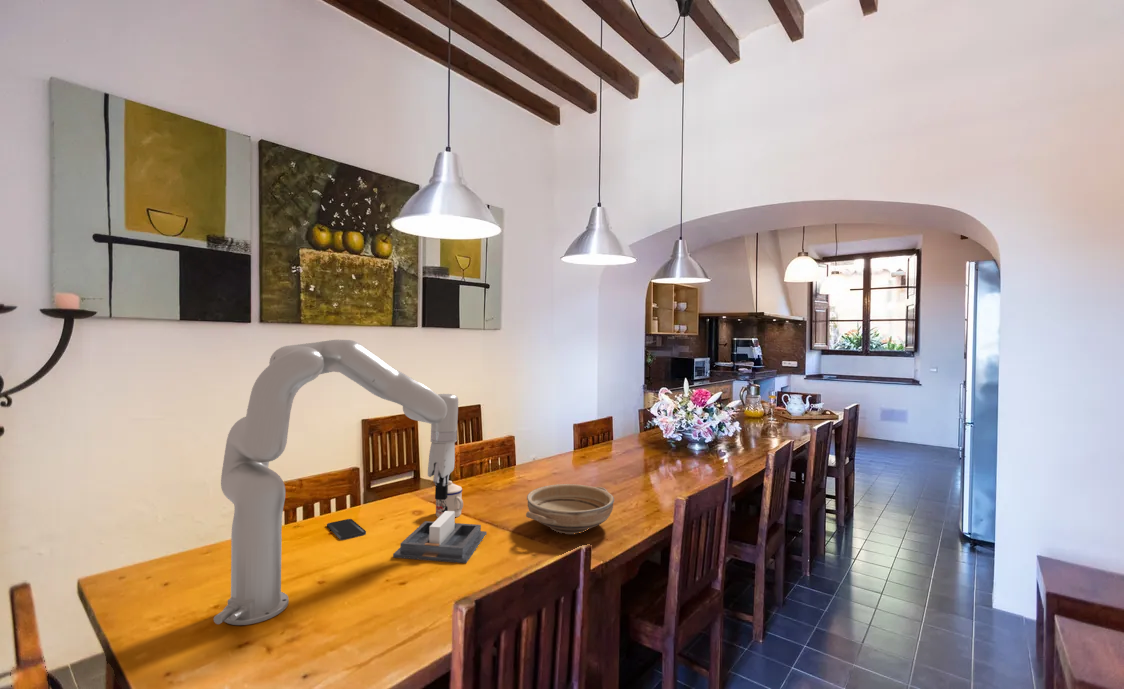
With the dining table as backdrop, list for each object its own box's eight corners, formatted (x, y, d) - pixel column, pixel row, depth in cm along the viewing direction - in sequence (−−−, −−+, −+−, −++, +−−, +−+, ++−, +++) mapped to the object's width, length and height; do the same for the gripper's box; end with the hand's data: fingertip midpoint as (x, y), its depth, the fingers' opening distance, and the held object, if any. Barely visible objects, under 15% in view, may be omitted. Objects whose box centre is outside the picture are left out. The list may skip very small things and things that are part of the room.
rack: (466, 563, 136) (466, 549, 136) (393, 557, 139) (393, 543, 139) (486, 534, 156) (486, 522, 156) (422, 530, 159) (422, 518, 158)
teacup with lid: (429, 514, 172) (430, 481, 172) (451, 508, 179) (451, 476, 179) (450, 523, 164) (451, 488, 164) (472, 516, 171) (473, 482, 171)
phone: (350, 518, 166) (367, 532, 154) (350, 521, 166) (366, 535, 154) (325, 523, 161) (340, 538, 149) (325, 527, 161) (340, 541, 149)
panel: (439, 552, 140) (439, 527, 140) (429, 551, 141) (429, 526, 141) (454, 534, 153) (454, 511, 153) (445, 533, 154) (445, 510, 154)
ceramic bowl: (566, 558, 140) (566, 522, 140) (497, 531, 159) (498, 499, 159) (637, 523, 168) (637, 493, 168) (572, 503, 187) (572, 476, 187)
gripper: (440, 431, 155) (438, 490, 154) (421, 440, 140) (418, 505, 140) (464, 433, 154) (461, 492, 154) (447, 441, 139) (444, 507, 139)
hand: (441, 498), depth 147 cm, fingers closed
